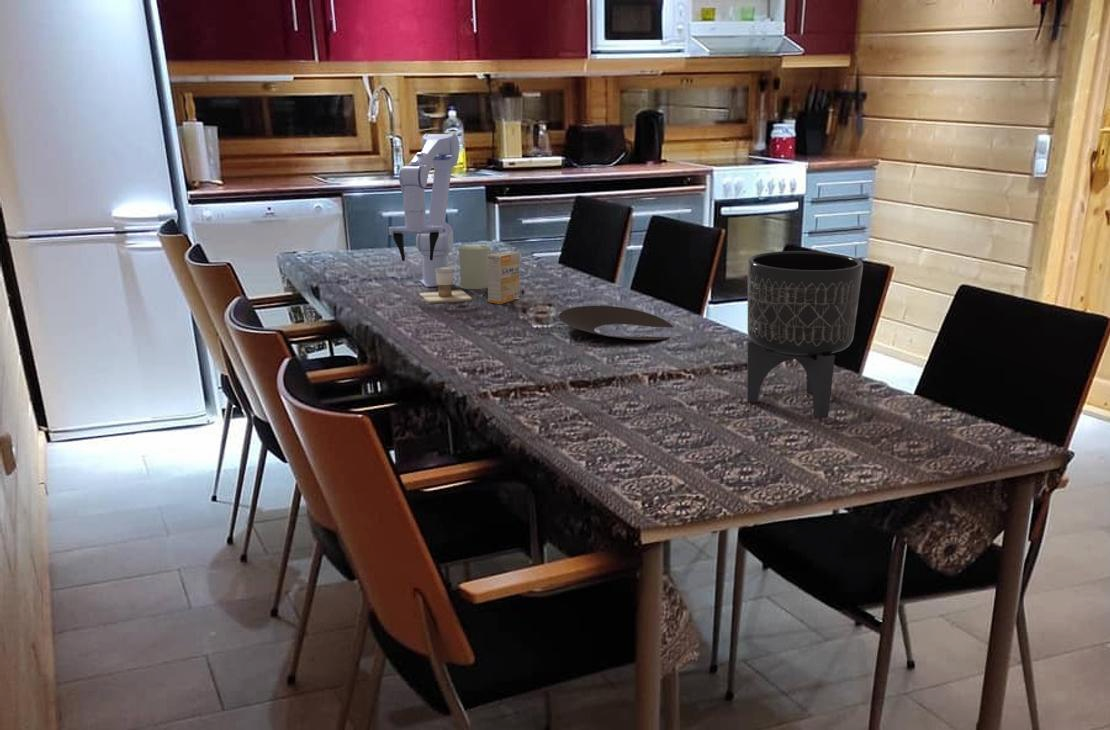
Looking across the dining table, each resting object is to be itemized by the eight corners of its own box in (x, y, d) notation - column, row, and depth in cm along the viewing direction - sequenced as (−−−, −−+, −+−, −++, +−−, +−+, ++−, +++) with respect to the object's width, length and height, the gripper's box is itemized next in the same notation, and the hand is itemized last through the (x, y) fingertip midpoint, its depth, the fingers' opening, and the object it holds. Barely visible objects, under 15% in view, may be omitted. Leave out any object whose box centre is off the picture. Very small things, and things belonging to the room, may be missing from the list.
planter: (771, 380, 186) (779, 247, 178) (868, 399, 174) (880, 258, 166) (721, 406, 172) (727, 262, 164) (823, 429, 160) (834, 275, 152)
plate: (671, 349, 209) (671, 333, 208) (547, 343, 215) (547, 327, 213) (680, 319, 235) (681, 304, 234) (570, 314, 241) (570, 300, 240)
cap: (450, 285, 256) (449, 271, 255) (432, 284, 257) (432, 270, 256) (456, 282, 261) (455, 267, 260) (439, 281, 262) (438, 267, 261)
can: (490, 289, 270) (489, 247, 267) (458, 289, 271) (456, 247, 267) (492, 282, 279) (491, 242, 276) (461, 282, 280) (460, 242, 276)
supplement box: (501, 305, 251) (499, 256, 248) (487, 302, 254) (486, 254, 250) (520, 299, 258) (519, 251, 254) (507, 297, 260) (506, 250, 257)
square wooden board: (419, 295, 264) (418, 281, 263) (461, 291, 268) (460, 277, 266) (428, 304, 253) (427, 289, 252) (471, 300, 257) (471, 285, 256)
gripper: (386, 213, 253) (389, 263, 257) (441, 212, 254) (443, 262, 258) (389, 209, 259) (391, 258, 263) (442, 208, 261) (444, 257, 264)
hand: (417, 260), depth 261 cm, fingers open, 7 cm apart
